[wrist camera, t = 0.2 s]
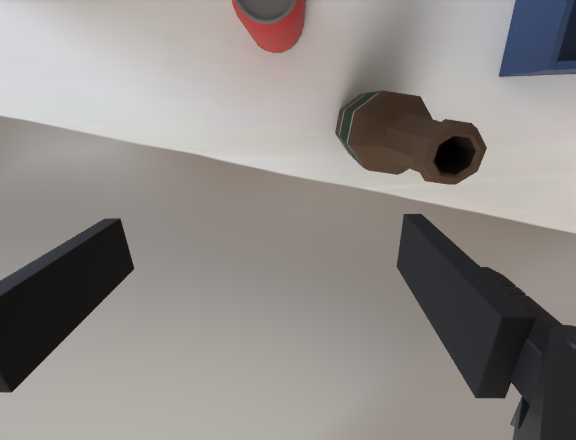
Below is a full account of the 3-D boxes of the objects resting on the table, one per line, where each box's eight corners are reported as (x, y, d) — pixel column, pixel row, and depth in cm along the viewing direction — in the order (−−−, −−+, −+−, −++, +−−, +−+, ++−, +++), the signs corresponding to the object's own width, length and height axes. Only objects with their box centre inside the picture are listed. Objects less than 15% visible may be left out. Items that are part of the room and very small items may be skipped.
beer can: (313, 4, 33) (321, -46, 22) (290, 63, 35) (286, 45, 24) (261, -24, 32) (241, -92, 21) (240, 38, 34) (213, 7, 23)
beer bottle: (396, 146, 38) (529, 205, 16) (339, 161, 39) (392, 234, 17) (389, 85, 36) (538, 56, 13) (328, 102, 37) (374, 101, 14)
